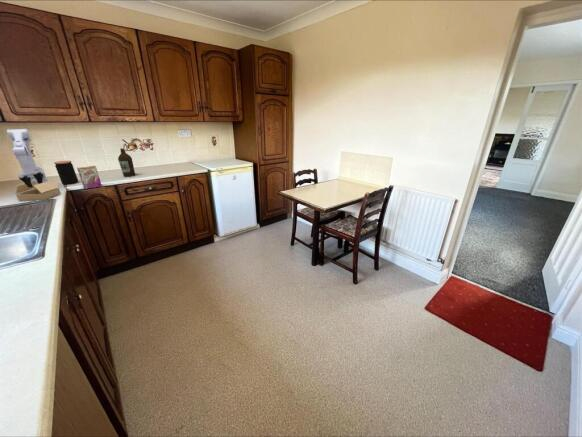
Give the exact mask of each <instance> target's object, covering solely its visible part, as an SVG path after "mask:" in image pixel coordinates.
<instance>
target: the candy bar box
mask: <svg viewBox="0 0 582 437" xmlns="http://www.w3.org/2000/svg"><path fill="white" fill-rule="evenodd" d="M76 170H77V172H78V176H79V178H80V182H81V185H82V188H83V189H85V190H88V189H93V188H99V187H102V186H103V185H102V182H101V179H100V175H99V172H98V169H97V166H96V165H93V164H92V165H85V166H77V167H76Z"/></svg>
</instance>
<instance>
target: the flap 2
mask: <svg viewBox="0 0 582 437" xmlns="http://www.w3.org/2000/svg"><path fill="white" fill-rule="evenodd" d="M34 187H35V188H36V189H37V190H38V191H39V192H40V193H44V192H47V191H50V190H53V189H56V188H59V186H57V184H56V183H55V182H54V181H52V180H49V181H47V182H44V183H40V184H37V185H34Z"/></svg>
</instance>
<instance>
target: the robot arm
mask: <svg viewBox="0 0 582 437" xmlns="http://www.w3.org/2000/svg"><path fill="white" fill-rule="evenodd" d="M6 133H7V135H8V137H9V139H10V140H11V141H12V145H13V148H12V152H13V155H14V156H15V157H16V159H17V161H18V163H19V165H20V168H21V169H22V172H23V173H20V174H17V176H18V179H19V180H20V181H22V182H23V184H26V185H27V186H28V187H32V184H31V182H32V181H36V184H35V185H37V184H40V183H44V182H47V181H50V180H49V179H48V178H47V177H46V176H47V175H46V173H45V171H44V169H43V168H42V167H41V166H37V163H36V162H35V159H34V156H33V153H32V151H31V148H30V143H32V138H31V136H30V135H31V134H30V133H29V131H28V129H27V128H22V129H21V128H19V129H17V128H16V129H9V128H8V129H7V130H6ZM34 189H36V188H34Z"/></svg>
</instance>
